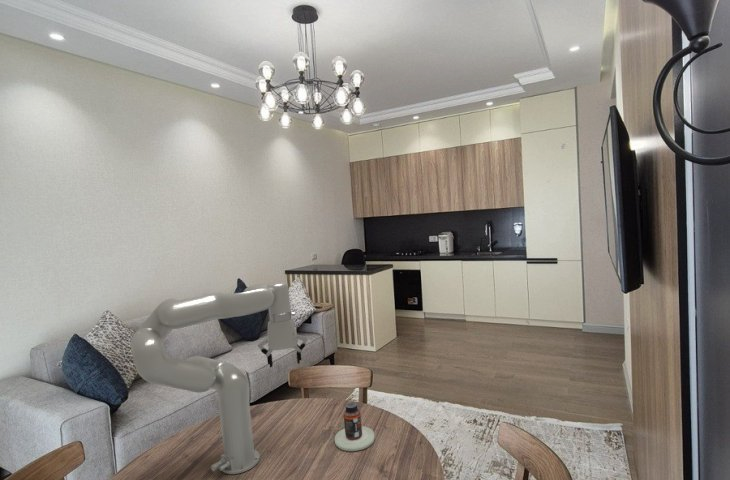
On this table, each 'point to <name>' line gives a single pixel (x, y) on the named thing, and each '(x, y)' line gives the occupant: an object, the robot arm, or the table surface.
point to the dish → (356, 444)
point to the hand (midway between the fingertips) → (285, 364)
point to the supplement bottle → (352, 422)
